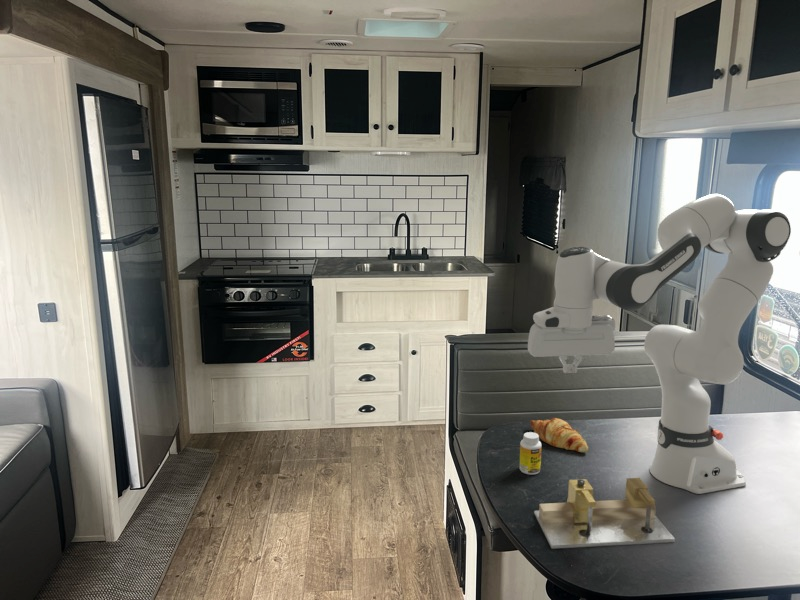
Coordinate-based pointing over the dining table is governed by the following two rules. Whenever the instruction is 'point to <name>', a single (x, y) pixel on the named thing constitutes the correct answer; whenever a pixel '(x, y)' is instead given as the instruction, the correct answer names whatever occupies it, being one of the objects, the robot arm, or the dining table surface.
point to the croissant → (559, 434)
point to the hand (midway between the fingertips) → (569, 372)
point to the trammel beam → (608, 506)
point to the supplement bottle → (530, 453)
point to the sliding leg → (581, 501)
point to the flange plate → (604, 532)
